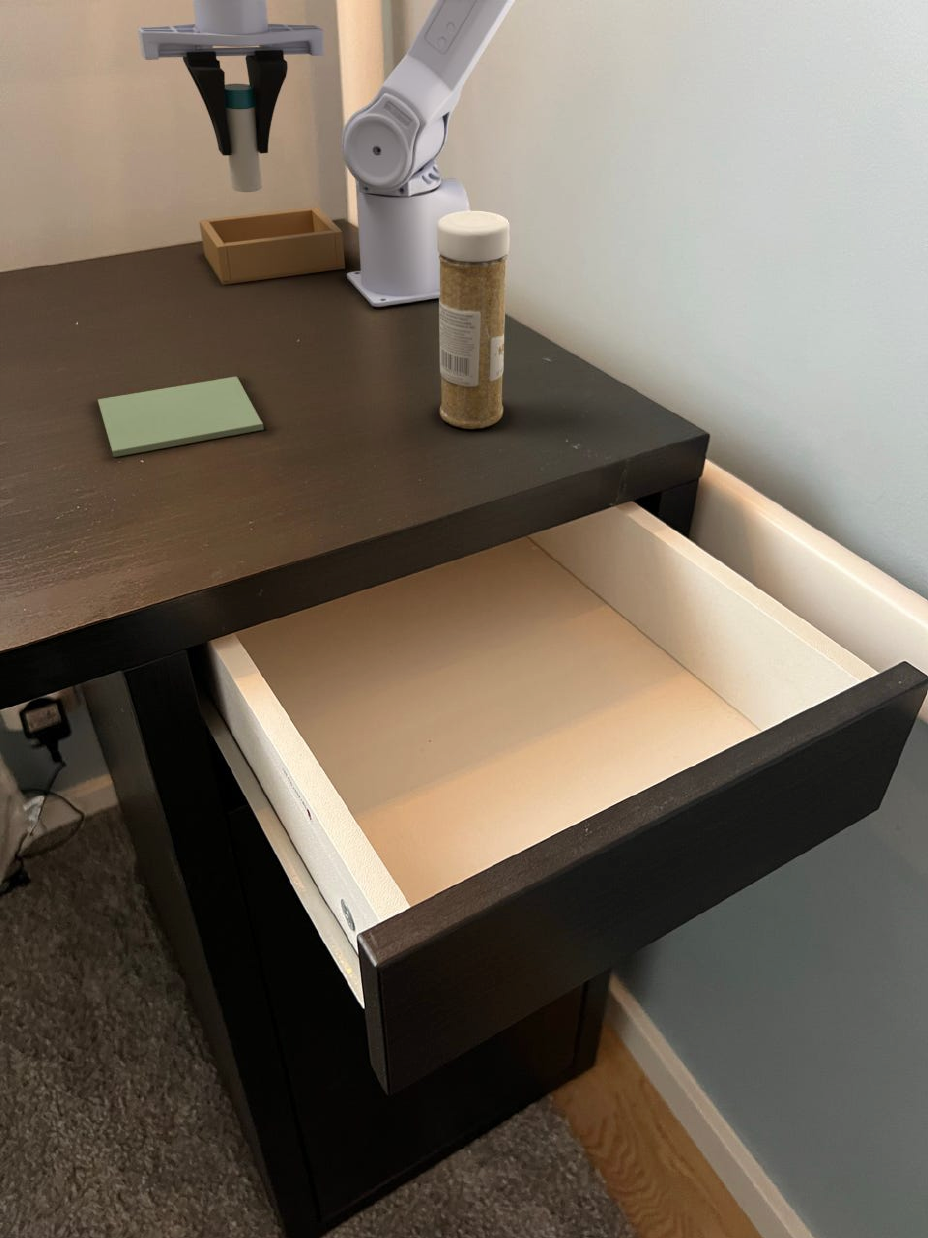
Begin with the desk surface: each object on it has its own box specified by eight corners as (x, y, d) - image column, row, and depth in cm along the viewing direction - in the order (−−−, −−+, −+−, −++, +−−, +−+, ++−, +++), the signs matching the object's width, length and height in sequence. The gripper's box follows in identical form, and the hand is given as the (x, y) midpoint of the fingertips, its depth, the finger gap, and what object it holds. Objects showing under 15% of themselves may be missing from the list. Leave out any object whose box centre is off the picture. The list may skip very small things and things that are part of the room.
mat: (237, 382, 72) (236, 375, 71) (263, 429, 66) (262, 423, 66) (99, 405, 69) (97, 398, 68) (113, 457, 63) (112, 450, 63)
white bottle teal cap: (258, 182, 87) (249, 82, 81) (265, 191, 85) (257, 89, 80) (228, 184, 86) (217, 83, 81) (234, 193, 84) (224, 90, 79)
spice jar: (515, 420, 67) (525, 222, 59) (461, 437, 65) (463, 235, 57) (479, 395, 70) (483, 203, 62) (426, 411, 68) (422, 215, 60)
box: (320, 241, 96) (317, 206, 94) (345, 268, 91) (342, 231, 88) (204, 256, 93) (198, 219, 91) (222, 284, 87) (216, 246, 85)
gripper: (303, -44, 80) (312, 135, 88) (122, -46, 75) (150, 143, 84) (327, -32, 75) (334, 155, 83) (135, -34, 70) (163, 165, 79)
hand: (243, 151), depth 83 cm, fingers closed on white bottle teal cap, 2 cm apart
